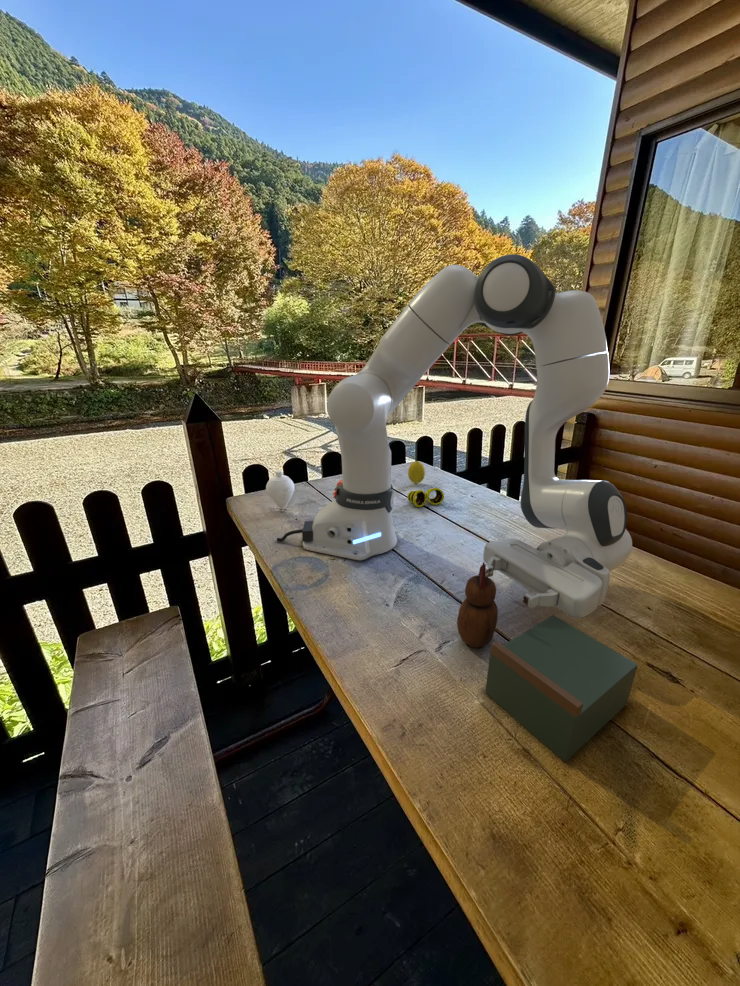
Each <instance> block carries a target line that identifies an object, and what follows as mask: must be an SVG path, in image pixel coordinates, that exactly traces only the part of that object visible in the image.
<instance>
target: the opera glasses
mask: <svg viewBox="0 0 740 986" xmlns="http://www.w3.org/2000/svg"><path fill="white" fill-rule="evenodd" d="M432 492H435V496H434V497H433V498H431V497H430V494H431V493H432ZM444 499H445V492H444V491H443V490H442V489H441V488H439V487H432V488H429V489H427V490H426V491H424V490H423V489H417V490H411V491H409V492H408V494H407V501H408V502H409V503H412V504H413V505H414V506H415V507H417V508H421V507H423V506H424V505H426V502H427V501H428V503H429V504H431V505H434V506H437V505H440V504H442V503H443V502H444Z"/></svg>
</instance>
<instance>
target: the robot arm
mask: <svg viewBox="0 0 740 986" xmlns="http://www.w3.org/2000/svg"><path fill="white" fill-rule="evenodd" d="M556 291H557V289H556V286H555V285H554V284H553V283H552V281H551V280H550V279H549V278H548V276H547V275H546V274H545V273H544V271H542V269H541V268H540V266H538V264H536V263H535V262H534V261H533V260H531V259H530V258H529V257H526V256H525V255H521V254H510V253H509V254H505V255H502V256H498V257H497V258H494V259H493V260H492V261H490V262H489V263H488V264H487V265H486V266H485V267H484V269H482V271H481V272H480V274H479V275H476V274H475V273H474V272H473V271H471V270H470V269H469V268H468V267H466V266H462V265H459V264H450V265H447V266H445V267H444V268H442V269H440V271H439V272H437V274H435V275H434V276H433V277H432V278H431V279H430V280H428V282H426V284H425V285H424V286H423V287H421V288H420V289H419V291H418V292H417V293H416V294H415V295H414V297H413V298H412V299H411V300H410V301H409V302H408V304H407V305H406V306H405V308H404V309H403V310H402V311H401V312H400V314H399V315H398V316H397V318H396V319H395V320H394V321H393V323H392V324H391V325H390V326H389V328H388V329H387V330H386V331H385V332H384V334H383V335H382V336H381V338H380V340H379V342H378V344H377V346H376V348H375V349H374V351H373V352H372V354H371V356H370V357H369V359H368V361H367V362H366V364H364V366H363V367H362V368H361V370H360V371H358V372H357V373H356V374H354V375H350V376H346V377H345V378H343V379H341V380H340V381H339V382H338V383H337V384H336V385H335V386H334V387H333V389H332V390H331V391H330V393H329V395H328V398H327V402H326V410H327V411H326V412H327V415H328V418H329V420H330V421H331V423H332V424H333V425H334V428H335V432H336V436H337V440H338V445H339V449H340V450H339V451H340V456H341V477H342V478H341V479H340V480H339V481H338V482H337V483H336V487H335V488H334V491H333V495H332V496H333V500H332V501H330V502H328V504H326V505H325V506H323V507H322V508H321V509H320V510H319V511H318V512H317V513H316V514H315V517H314V518H313V520H305V521H304V523H303V527H302V528H300V529H294V530H290V531H288V532H286V533H285V534H283V536H282V537H276V542H284V541H285V540H286V539H287V538H288V537H289V536H292V535H295V534H296V535H297V534H301V538H302V548H303V549H304V550H307V551H311V552H316V553H321V554H324V555H325V554H326V555H331V556H335V557H340V558H346V559H350V560H354V561H364V560H367V559H368V558H371V557H373V556H377V555H381V554H384V553H386V552H390V551H391V550H393V549H395V547H396V546H397V544H398V537H397V534H396V531H395V526H394V519H393V508H394V486H393V484H392V450H391V448H390V444H389V437H388V430H387V418H388V417H389V416H390V415H391V414H392V413H393V412H394V411H395V409H396V408H397V407H398V406H399V405H400V404H401V402H402V401H403V400H404V399H405V398H406V397H407V396H408V394H409V393H410V392H411V391H412V390H413V388H414V387H415V386H416V385H417V384H418V382H420V380H421V379H422V378H423V376H425V374H427V372H428V371H429V370H430V369H431V368H432V366H433V365H434V364H435V363H436V362H437V361H438V359H440V357H441V356H442V355H443V354H444V353H445V352H446V351H447V350H448V349H449V348H450V346H451V345H452V344H453V343H454V342H455V341H456V340H457V338H458V337H459V336H460V335H461V334H462V333H463V332H464V331H465V330H466V329H467V328H468V327H470V326H471V325H474V324H477V323H478V324H479V325H481V326H483V327H485V328H487V329H490V330H491V331H493V332H496V333H498V334H500V335H504V336H518V335H521V334H525V335H526V336H527V337H528V338H529V339H530V341H531V343H532V347H533V351H534V358H535V367H536V387H535V392H534V396H533V398H532V400H531V401H530V402H529V404H528V405H527V408H526V412H525V418H524V443H523V444H524V446H523V447H524V449H523V450H524V451H523V453H524V454H523V456H524V457H523V459H524V460H523V463H524V464H523V483H522V484H523V485H522V490H521V494H520V509H521V512H522V515H523V516H524V518H525V519H526V521H527V522H528V523H529V525H531V526H533V527H534V528H537V529H552V530H554V529H556V530H564V531H565V533H564V534H563V535H562V536H561V535H560V536H559V537H556V538H553V539H550V540H547V541H545V542H544V541H543V542H542V543H540V544H539V545H538V546H537V547H536V548H535V547H533V546H532V545H530V544H528V543H526V542H524V541H522V540H520V539H517V538H502V539H497V540H493V541H489V542H486V543H485V545H484V548H483V562H484V563H485V565H486V570H485V576H486V577H488V578H491V577H493V576H494V571H498V572H500V573H501V574H503V575H504V576H506V577H508V578H509V579H510V580H512V581H514V582H515V583H517V584H518V585H520V586H522V587H523V588H525V589H526V590H528V592H527V593H524V595H523V597H522V598H523V600H522V603H523V604H524V605H525V606H527V607H528V608H529V609H534V608H536V607H547V608H552V607H555V608H556V609H558V610H560V611H561V612H563V613H564V614H566V615H567V616H568V617H570V618H573V619H574V618H575V619H583V618H585V617H586V616H588V615H591V614H592V613H593V612H595V611H596V610H597V608H598V607H599V606H601V605H603V603H604V601H605V598H606V596H607V592H608V590H609V584H610V577H611V572H612V571H614V570H616V569H618V567H620V566H621V565H623V564H624V563H625V562H626V561H627V559H628V558H629V557H630V556H631V554H632V550H633V539H632V536H631V534H630V532H629V531H628V529H627V523H628V511H627V505H626V501H625V499H624V497H623V495H622V494H621V492H620V491H619V489H617V487H616V486H615V485H614V484H613V483H611V482H610V481H608V480H598V479H596V480H595V479H560V478H558V477H557V475H556V474H555V461H556V460H555V459H556V457H555V455H556V439H557V434H558V432H559V430H560V428H561V427H562V426H563V425H564V424H565V423H567V421H569V420H571V419H572V418H574V417H576V416H578V415H580V414H581V413H583V412H585V411H587V410H588V409H589V408H591V407H592V406H593V405H595V403H597V402H598V401H599V400H600V399H601V397H602V396H603V394H604V393H605V392H606V390H607V387H608V385H609V381H610V361H609V360H610V359H609V351H608V342H607V336H606V331H605V326H604V322H603V318H602V315H601V312H600V308H599V305H598V302H597V300H596V298H595V297H594V296H593V295H592V294H591V293H590V292H587V291H584V290H575V289H574V290H573V289H572V290H566V291H563V292H556Z"/></svg>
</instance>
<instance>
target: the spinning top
mask: <svg viewBox="0 0 740 986" xmlns="http://www.w3.org/2000/svg"><path fill="white" fill-rule="evenodd" d="M283 473H284V472H283V470H280V469H278V470H275V475H273V476H271V477H270V478H269V480H268V481H267V483H266V485H265V490H266V494H267V495H268V497H269V498H270V499H271V501H272V502H273V503H274V504H275V505H276V507H278V508H279V509H280V510H281V512H284V509H285V507H286V506H287V505H288V503H289V502H290V501H291V499H292V497H293V495H294V492H295V483H294V481H293V480H292V479H291V478H290V477H289V476H288V475H285V474H283Z"/></svg>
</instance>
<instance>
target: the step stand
mask: <svg viewBox="0 0 740 986" xmlns="http://www.w3.org/2000/svg"><path fill="white" fill-rule="evenodd" d="M489 652H490V653H489V659H488V666H487V667H488V669H487V676H486V683H485V694H486V695H487V696H489V698H490V699H492V700H493V701H494V702H495V703H496V704H497V705H499V706H500V707H501V708H502V709H504V710H505V711H506V712H507V713H508V714H509V715H510V716H511V717H513V719H515V720H516V721H517V722H518V723H519V724H520V725H521V726H522V727H524V728H525V729H526V730H527V731H529V732H530V733H531V734H532V735H533V736H534V737H536V738H537V739H538V740H539V741H540V742H541V743H542V744H544V746H546V747H547V748H548V749H550V750H551V752H553V753H554V754H555V755H556V756H558V758H559V759H561V760H562V761H563V762H565V763H567V761H568V760H569V759H571V758H572V756H574V755H575V754H576V753H577V752H578V751H579V750H581V748H582V747H584V745H586V743H587V742H589V741H590V740H591V739H592V738H593V737H594V736H595V735H596V734H597V733H598V732H599V731H601V729H603V727H604V726H606V725H607V724H608V723H609V722H610V721H611V720H612V719H613V718H614V717H615V716H616V715H617V714H618V713H620V711H622V710H623V709H624V708H625V707H626V706H627V704H628V699H629V697H630V693H631V690H632V687H633V683H634V680H635V676H636V673H637V670H638V666H639V664H638V663H636V662H635V661H633V660H631V659H630V658H628V657H626V656H624V655H623V654H622V653H620V652H618V651H616V650H615V649H612V648H611V647H609V646H608V645H607V644H606V645H605V644H604V643H603V642H601V641H599V640H597V639H595V638H594V637H592V636H590V635H588V634H587V633H586V632H583V631H582V630H580V629H578V628H577V627H575V626H573V625H571V624H570V623H568V622H566V621H564V620H563V619H561V618H560V617H558V616H556V615H554V614H552V615H550V616H548V617H547V618H545V619H544V620H542V621H540V622H539V623H537V624H536V625H534V626H532V627H531V628H529V629H527V630H525V631H524V632H523V633H521V634H518V635H517V636H516V637H514V638H512V639H511V640H509V641H508V642H506V643H504V644H502V643H500V642H499V641H498V640H494V641H493V642H491V643H490V651H489Z"/></svg>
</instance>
